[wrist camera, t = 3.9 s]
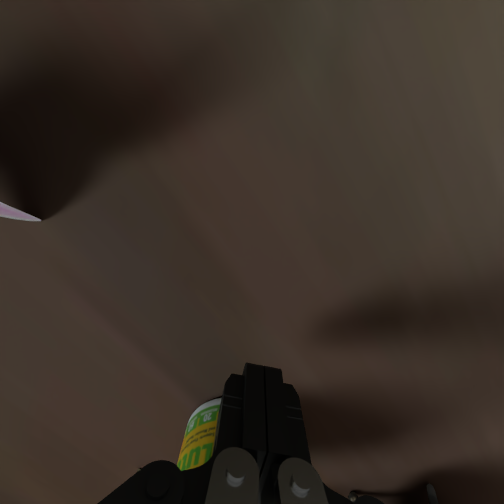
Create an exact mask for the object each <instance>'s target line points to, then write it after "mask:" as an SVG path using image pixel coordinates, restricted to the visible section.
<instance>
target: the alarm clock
mask: <svg viewBox="0 0 504 504" xmlns="http://www.w3.org/2000/svg"><path fill="white" fill-rule="evenodd" d="M426 488H427V493H428V499H429V504H439V503H438V500H437V496H436V492H435V490H434V487H433V486H432V485H431V484H429V483H428V484H427V487H426ZM348 498H349V500H351V501H353V502H355V501H356V499H357V498H358V496H357V494H356V493H355V492H350V494H349V496H348Z"/></svg>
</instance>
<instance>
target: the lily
mask: <svg viewBox="0 0 504 504" xmlns="http://www.w3.org/2000/svg"><path fill="white" fill-rule="evenodd" d="M0 216H1V217H6V218H12V219H19V220H27V221H41V219H38V218H36V217H34V216H32V215H29V214H27V213H25V212H22V211H20V210H17V209H15V208H13V207H10V206H8V205H6V204H4V203H2V202H0Z"/></svg>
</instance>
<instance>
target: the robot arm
mask: <svg viewBox="0 0 504 504" xmlns="http://www.w3.org/2000/svg"><path fill="white" fill-rule="evenodd" d="M98 504H384V503H383V502H381V501H380V500H378V499H376V498H374V497H372V496H367V495H364V496H360V497H358V498H357V499H356V501H355V502H353V501H351V500H349V499H347V498H345V497H343V496H342V495H340V494H338V493H336V492H334V491H333V490H331V489H330V488H328V487H327V486H326V485H325V484H324V483H323V482H322V480H321V478H320V476H319V474H318V472H317V471H316V470H315V468H314V467H313V466H312V464H311V460H310V454H309V449H308V443H307V438H306V433H305V427H304V422H303V417H302V411H301V406H300V400H299V396H298V394H297V392H296V391H295V389H294V387H293V386H292V385H291V384H286V383H283V377H282V371H281V369H278V368H273V367H267V366H262V365H256V364H251V363H246V364H245V367H244V371H243V375H237V374H231V375H230V377H229V378H228V380H227V381H226V382H225V386H224V391H223V395H222V399H221V403H220V408H219V413H218V419H217V426H216V433H215V439H214V446H213V452H212V457H211V458H210V459H209V460H208V461H207V462H206V463H204V464H203V465H201V466H199V467H196V468H192V469H188V470H183V471H181V470H180V469H179V468H178V466H177V465H175V464H174V463H172V462H170V461H166V460H159V461H154V462H151V463H149V464H147V465H146V466H144V467H143V468H142V469H141V470H139V471H138V472H137V473H136V474H134V475H133V476H132V477H130V478H129V479H128V480H127V481H125V482H124V483H123V484H122V485H120V486H119V487H118V488H117V489H115V490H114V491H113V492H112V493H110V494H109V495H108V496H107V497H105V498H104V499H103V500H102V501H100V502H99V503H98Z"/></svg>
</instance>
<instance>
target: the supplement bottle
mask: <svg viewBox="0 0 504 504" xmlns="http://www.w3.org/2000/svg"><path fill="white" fill-rule="evenodd" d="M221 399H222V398H218V399H214V400H211V401H208V402H206V403H204V404H203V405H201V406H200V407H199V408H197V409H196V410H195V411H194V413H193V414H192V416H191V417H190V419H189V422H188V425H187V428H186V432H185V436H184V440H183V444H182V447H181V451H180V455H179V459H178V463H177V466H178V468H179V469H180V470H181V471H183V470H188V469H192V468H196V467H199V466H201V465H203V464H204V463H206V462H207V461H208V460H209V459H210V458H211V457H212V452H213V446H214V439H215V433H216V426H217V419H218V413H219V408H220V403H221Z"/></svg>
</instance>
